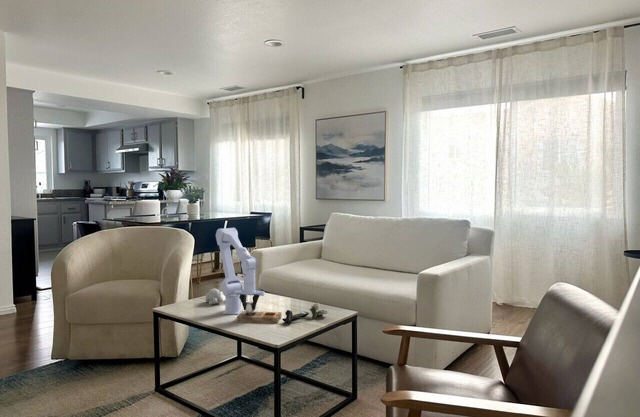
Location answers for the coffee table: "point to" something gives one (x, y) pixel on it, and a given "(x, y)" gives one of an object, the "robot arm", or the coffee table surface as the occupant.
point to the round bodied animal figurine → (213, 296)
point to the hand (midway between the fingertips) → (249, 309)
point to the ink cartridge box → (242, 282)
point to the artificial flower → (312, 309)
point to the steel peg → (249, 309)
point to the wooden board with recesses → (260, 317)
